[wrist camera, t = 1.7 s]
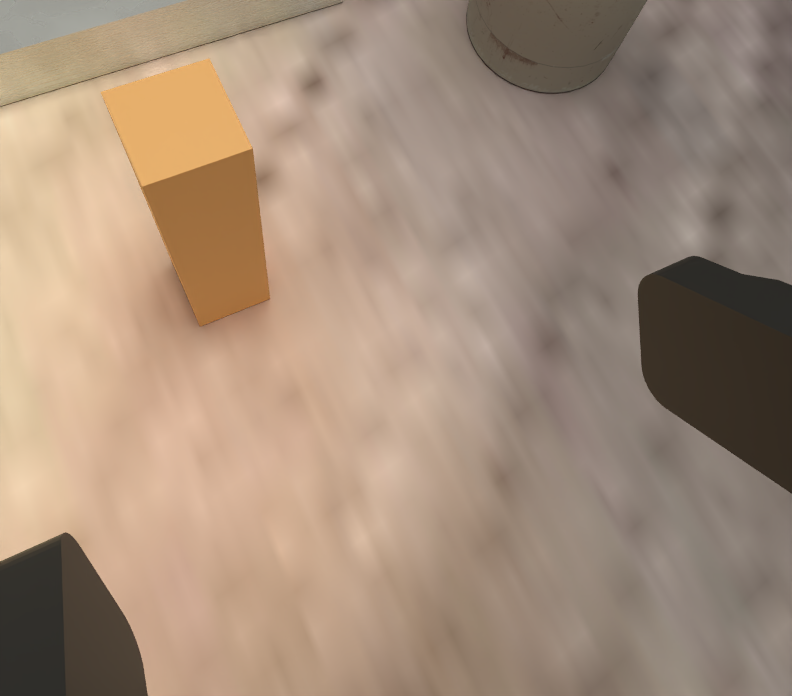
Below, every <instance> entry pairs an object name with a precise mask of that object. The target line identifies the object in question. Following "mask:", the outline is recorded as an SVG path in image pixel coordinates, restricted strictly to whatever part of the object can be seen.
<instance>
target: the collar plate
mask: <svg viewBox="0 0 792 696" xmlns="http://www.w3.org/2000/svg"><path fill="white" fill-rule="evenodd" d="M341 2H343V0H0V106H3V105H6V104H9V103H13V102H16V101H19V100H23V99H26V98H29V97H32V96H36V95H39V94H42V93H46V92H49V91H52V90H55V89H59V88H62V87H65V86H68V85H72V84H75V83H78V82H82V81H85V80H88V79H91V78H95V77H98V76H101V75H105V74H108V73H111V72H114V71H118V70H121V69H124V68H128V67H131V66H134V65H137V64H141V63H144V62H147V61H151V60H154V59H157V58H160V57H164V56H167V55H170V54H174V53H177V52H180V51H183V50H187V49H190V48H193V47H196V46H200V45H203V44H206V43H210V42H213V41H216V40H219V39H223V38H226V37H229V36H233V35H236V34H239V33H242V32H246V31H249V30H252V29H256V28H259V27H262V26H265V25H269V24H272V23H275V22H279V21H282V20H285V19H288V18H292V17H295V16H298V15H301V14H305V13H308V12H311V11H315V10H318V9H321V8H324V7H328V6H331V5H334V4H338V3H341Z"/></svg>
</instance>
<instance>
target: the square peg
mask: <svg viewBox="0 0 792 696" xmlns="http://www.w3.org/2000/svg"><path fill="white" fill-rule="evenodd" d="M101 94H102V96H103V99H104V101H105V104H106V106H107V108H108V111H109V113H110V115H111V118H112V120H113V123H114V125H115V127H116V130H117V132H118V135H119V137H120V139H121V142H122V144H123V146H124V149H125V151H126V154H127V156H128V158H129V161H130V163H131V166H132V168H133V170H134V173H135V175H136V177H137V180H138V182H139V185H140V187H141V189H142V192H143V194H144V197H145V199H146V201H147V204H148V206H149V208H150V211H151V213H152V216H153V218H154V220H155V223H156V225H157V227H158V230H159V232H160V235H161V237H162V239H163V242H164V244H165V247H166V249H167V251H168V254H169V256H170V258H171V261H172V263H173V266H174V268H175V270H176V272H177V275H178V277H179V279H180V282H181V284H182V286H183V288H184V291H185V293H186V295H187V298H188V300H189V302H190V304H191V307H192V309H193V311H194V314H195V316H196V318H197V321H198V323H199V325H200V326H203V325H205V324H208V323H210V322H213V321H215V320H218V319H220V318H223V317H225V316H228V315H231V314H233V313H236V312H238V311H241V310H243V309H246V308H248V307H251V306H253V305H256V304H258V303H261V302H263V301H266V300H268V299H270V295H269V287H268V278H267V269H266V260H265V252H264V243H263V234H262V225H261V217H260V208H259V199H258V191H257V182H256V173H255V164H254V156H253V148H252V146H251V144H250V142H249V140H248V138H247V136H246V134H245V132H244V130H243V127H242V125H241V123H240V121H239V119H238V117H237V115H236V113H235V111H234V109H233V107H232V105H231V103H230V100H229V98H228V96H227V94H226V92H225V90H224V88H223V86H222V84H221V82H220V80H219V78H218V76H217V74H216V71H215V69H214V67H213V65H212V63H211V61H210V59H206V60H203V61H200V62H196V63H193V64H190V65H187V66H183V67H180V68H177V69H174V70H170V71H167V72H164V73H161V74H158V75H154V76H151V77H148V78H145V79H141V80H138V81H135V82H132V83H128V84H125V85H122V86H119V87H116V88H112V89H109V90H106V91H103V92H101Z"/></svg>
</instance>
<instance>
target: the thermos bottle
mask: <svg viewBox="0 0 792 696" xmlns="http://www.w3.org/2000/svg"><path fill="white" fill-rule="evenodd" d="M646 2H647V0H469V4H468V10H467V15H466V16H467V29H468V32H469V36H470V39H471V42H472V44H473V46H474V48H475V50H476V51H477V53H478V55H479V56H480V57H481V58H482V60H483V61H484V62H485V63H486V65H487V66H488V67H490V68H491V69H492V70H493V71H494V72H495V73H497V74H498V75H499V76H501V77H502V78H504V79H506V80H507V81H509V82H510V83H513V84H515V85H517V86H520V87H522V88H525V89H529V90H533V91H538V92H547V93H559V92H567V91H571V90H574V89H577V88H580V87H583V86H585V85H586V84H588V83H590V82H592V81H593V80H595V79H596V78H597V77H598V76H599V75H600V74H601V73H602V72H603V71H604V70H605V68H606V67H607V65H608V64H609V62H610V61H611V59H612V57H613V56H614V54H615V53H616V51H617V49H618V48H619V46H620V44H621V43H622V41H623V39H624V38H625V36H626V34H627V33H628V31H629V30H630V28H631V26H632V25H633V23H634V21H635V20H636V18H637V16H638V15H639V13H640V11H641V10H642V8H643V6H644V5H645V3H646Z"/></svg>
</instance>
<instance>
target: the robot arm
mask: <svg viewBox="0 0 792 696" xmlns="http://www.w3.org/2000/svg"><path fill="white" fill-rule="evenodd" d="M638 307H639V326H640V345H641V364H642V372H643V376H644V379H645V382H646V384H647V386H648V388H649V390H650V391H651V393H652V394H653V396H654V397H655V398H656V400H657V401H658V402H659V403H660V404H661V405H662V406H664V407H665V408H666V409H668V410H669V411H671V412H672V413H674V414H675V415H677V416H678V417H680V418H681V419H683V420H684V421H685V422H687V423H688V424H690V425H691V426H693V427H694V428H696V429H697V430H699V431H700V432H702V433H703V434H705V435H706V436H708V437H709V438H711V439H712V440H714V441H715V442H716V443H718V444H719V445H721V446H722V447H724V448H725V449H727V450H728V451H730V452H731V453H733V454H734V455H736V456H737V457H739V458H740V459H742V460H743V461H744V462H746V463H747V464H749V465H750V466H752V467H753V468H755V469H756V470H758V471H759V472H761V473H762V474H764V475H765V476H767V477H768V478H770V479H771V480H773V481H774V482H775V483H777V484H778V485H780V486H781V487H783V488H784V489H786V490H787V491H789V492H790V493H792V285H789V284H787V283H784V282H782V281H779V280H774V279H768V278H762V277H756V276H750V275H744V274H740V273H738V272H736V271H733V270H731V269H728V268H726V267H723V266H721V265H719V264H716V263H714V262H711V261H709V260H706V259H704V258H701V257H698V256H691V257H687V258H685V259H683V260H681V261H678V262H676V263H674V264H672V265H670V266H667V267H665V268H663V269H661V270H658V271H656V272H654V273H652V274H649V275H647V276H645V277H644V278H643V279H642V280H641V282H640V284H639V288H638ZM0 696H148V695H147V688H146V681H145V674H144V668H143V662H142V658H141V654H140V651H139V648H138V645H137V642H136V639H135V637H134V634H133V632H132V629H131V627H130V625H129V623H128V621H127V619H126V617H125V616H124V614H123V613H122V611H121V609H120V608H119V606H118V605H117V603H116V602H115V600H114V598H113V597H112V595H111V594H110V592H109V591H108V589H107V588H106V586H105V584H104V583H103V581H102V580H101V578H100V577H99V575H98V574H97V572H96V570H95V569H94V567H93V566H92V564H91V563H90V561H89V560H88V558H87V556H86V555H85V553H84V552H83V550H82V549H81V547H80V546H79V544H78V543H77V541H76V540H75V539H74V538H73V537H72V536H71V535H70V534H68V533H63V534H61V535H59V536H57V537H54V538H52V539H50V540H48V541H45V542H43V543H41V544H39V545H36V546H34V547H32V548H30V549H27V550H25V551H23V552H21V553H18V554H16V555H14V556H12V557H9V558H7V559H5V560H3V561H0Z"/></svg>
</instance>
